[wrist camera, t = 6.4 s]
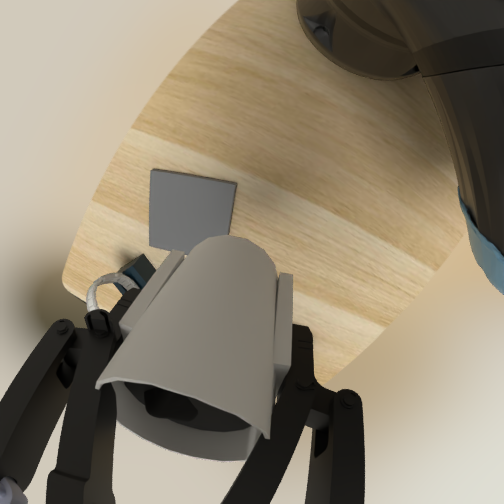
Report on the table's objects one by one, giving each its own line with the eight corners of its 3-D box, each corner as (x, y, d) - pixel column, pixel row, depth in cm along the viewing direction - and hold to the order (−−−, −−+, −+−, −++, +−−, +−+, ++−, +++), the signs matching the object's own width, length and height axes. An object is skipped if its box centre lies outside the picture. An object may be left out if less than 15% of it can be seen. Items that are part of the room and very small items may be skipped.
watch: (146, 299, 40) (112, 350, 30) (113, 258, 37) (70, 304, 27) (170, 287, 38) (136, 343, 28) (135, 243, 35) (89, 290, 25)
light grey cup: (235, 333, 19) (201, 466, 10) (159, 273, 17) (78, 398, 8) (309, 282, 16) (313, 446, 7) (224, 203, 14) (132, 347, 6)
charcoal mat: (236, 182, 29) (235, 184, 28) (224, 260, 34) (223, 264, 33) (153, 168, 29) (150, 170, 29) (152, 243, 34) (149, 245, 34)
